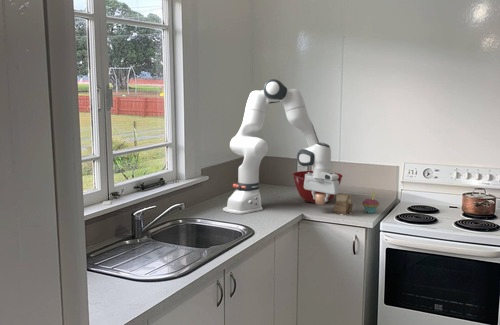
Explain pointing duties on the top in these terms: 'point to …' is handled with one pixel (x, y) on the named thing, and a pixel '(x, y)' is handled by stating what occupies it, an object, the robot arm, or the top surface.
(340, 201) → the tower top
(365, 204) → the cupcake
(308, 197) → the mixing bowl
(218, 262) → the top surface
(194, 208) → the top surface
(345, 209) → the tower base
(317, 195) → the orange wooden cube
